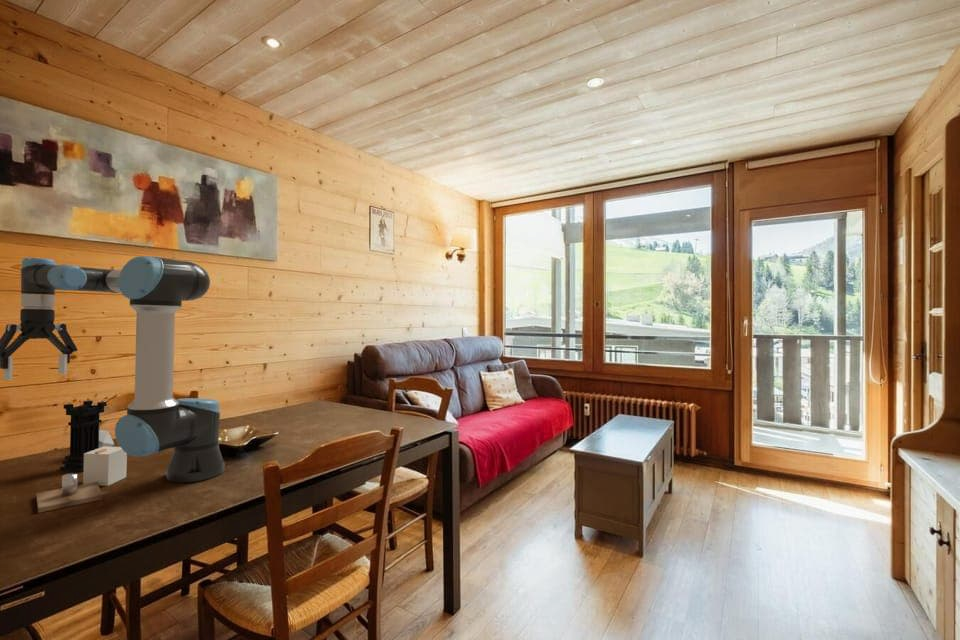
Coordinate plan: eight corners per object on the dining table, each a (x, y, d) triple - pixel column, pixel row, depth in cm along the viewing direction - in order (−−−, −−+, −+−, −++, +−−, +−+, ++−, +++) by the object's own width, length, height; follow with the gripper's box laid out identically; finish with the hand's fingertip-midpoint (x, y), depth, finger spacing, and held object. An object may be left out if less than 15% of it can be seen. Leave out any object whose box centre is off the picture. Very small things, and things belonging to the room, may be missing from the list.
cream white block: (126, 477, 132) (127, 445, 132) (107, 485, 125) (108, 452, 125) (102, 476, 132) (103, 444, 132) (83, 485, 125) (83, 451, 125)
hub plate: (96, 485, 125) (96, 480, 125) (102, 499, 117) (102, 493, 117) (36, 497, 116) (36, 492, 116) (38, 512, 108) (38, 507, 108)
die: (120, 453, 155) (111, 427, 157) (110, 447, 147) (102, 420, 150) (89, 465, 150) (81, 439, 153) (78, 460, 143) (70, 432, 146)
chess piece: (80, 472, 134) (81, 406, 134) (59, 469, 136) (61, 404, 136) (107, 464, 142) (108, 401, 142) (87, 461, 144) (88, 400, 143)
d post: (76, 490, 119) (77, 472, 118) (77, 494, 116) (78, 475, 116) (61, 493, 116) (61, 474, 116) (62, 497, 114) (62, 478, 114)
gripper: (76, 308, 150) (74, 371, 150) (-26, 307, 126) (-27, 381, 126) (91, 309, 148) (90, 372, 148) (-9, 307, 124) (-10, 383, 124)
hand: (36, 376), depth 137 cm, fingers open, 13 cm apart
